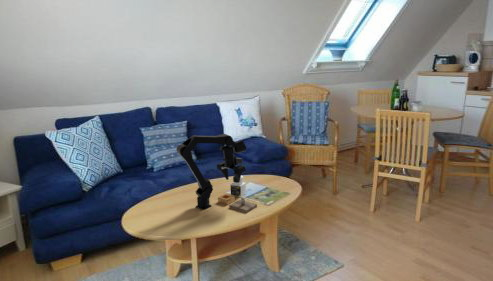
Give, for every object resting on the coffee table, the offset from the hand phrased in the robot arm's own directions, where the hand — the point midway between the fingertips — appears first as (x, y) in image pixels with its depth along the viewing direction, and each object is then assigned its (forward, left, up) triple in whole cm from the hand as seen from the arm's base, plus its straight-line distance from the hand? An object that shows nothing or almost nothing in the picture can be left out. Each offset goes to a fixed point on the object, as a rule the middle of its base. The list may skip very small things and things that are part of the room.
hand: (233, 181), depth 199 cm
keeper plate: (-5, -11, -12) cm, 17 cm away
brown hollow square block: (-4, +2, -12) cm, 13 cm away
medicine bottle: (+9, +3, -12) cm, 15 cm away
